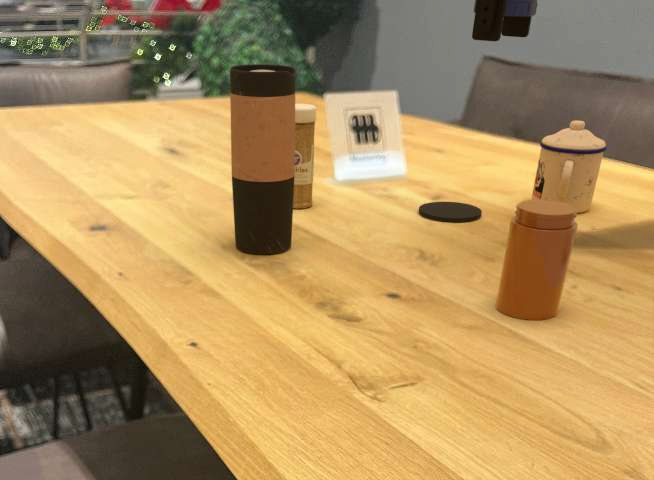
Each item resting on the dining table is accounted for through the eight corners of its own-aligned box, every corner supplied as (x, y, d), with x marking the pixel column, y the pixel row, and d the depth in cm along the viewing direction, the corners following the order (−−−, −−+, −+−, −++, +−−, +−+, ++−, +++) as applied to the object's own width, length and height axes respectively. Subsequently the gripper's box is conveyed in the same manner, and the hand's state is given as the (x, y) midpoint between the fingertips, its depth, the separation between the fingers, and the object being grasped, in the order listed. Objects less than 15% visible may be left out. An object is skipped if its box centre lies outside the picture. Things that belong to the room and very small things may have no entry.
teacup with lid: (531, 196, 119) (547, 114, 113) (592, 202, 117) (612, 118, 110) (524, 216, 110) (541, 128, 103) (590, 222, 108) (612, 132, 101)
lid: (490, 10, 90) (492, -7, 89) (544, 14, 86) (548, -3, 85) (462, 12, 85) (464, -5, 84) (518, 17, 82) (521, -1, 81)
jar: (544, 297, 84) (566, 198, 78) (566, 319, 79) (591, 215, 73) (488, 298, 83) (505, 199, 77) (506, 320, 78) (526, 216, 72)
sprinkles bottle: (281, 208, 112) (282, 107, 104) (284, 200, 116) (285, 102, 108) (312, 209, 112) (315, 108, 104) (314, 201, 116) (317, 103, 108)
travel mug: (224, 242, 99) (218, 65, 87) (276, 234, 102) (277, 63, 90) (249, 259, 93) (246, 73, 82) (303, 250, 96) (308, 70, 85)
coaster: (473, 205, 115) (474, 201, 114) (487, 222, 107) (488, 218, 107) (414, 205, 115) (414, 201, 114) (423, 222, 107) (424, 217, 107)
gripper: (533, -182, 69) (497, 46, 80) (600, -161, 80) (561, 36, 91) (459, -176, 73) (434, 40, 84) (533, -157, 84) (502, 32, 95)
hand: (500, 36), depth 87 cm, fingers closed on lid, 6 cm apart
